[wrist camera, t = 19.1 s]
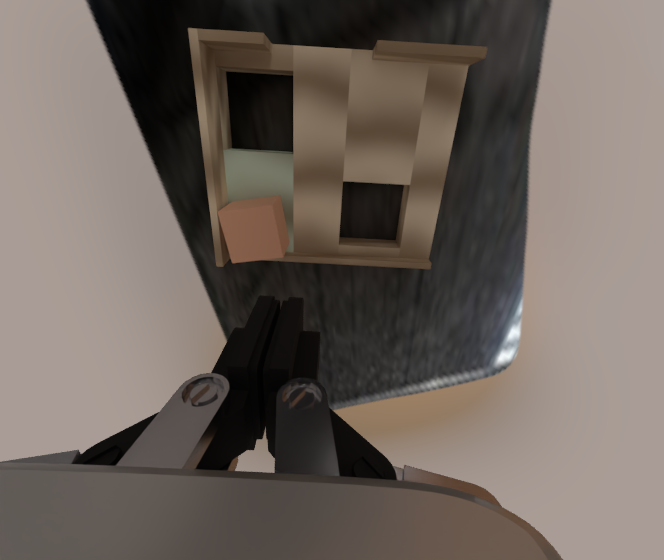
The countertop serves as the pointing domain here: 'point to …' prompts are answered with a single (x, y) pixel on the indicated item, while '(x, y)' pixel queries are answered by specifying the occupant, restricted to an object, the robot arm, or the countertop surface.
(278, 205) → the block
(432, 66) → the wooden cubby shelf
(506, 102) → the countertop surface
